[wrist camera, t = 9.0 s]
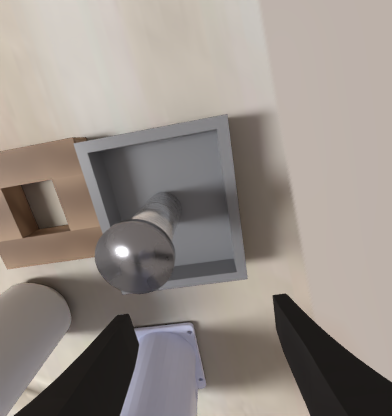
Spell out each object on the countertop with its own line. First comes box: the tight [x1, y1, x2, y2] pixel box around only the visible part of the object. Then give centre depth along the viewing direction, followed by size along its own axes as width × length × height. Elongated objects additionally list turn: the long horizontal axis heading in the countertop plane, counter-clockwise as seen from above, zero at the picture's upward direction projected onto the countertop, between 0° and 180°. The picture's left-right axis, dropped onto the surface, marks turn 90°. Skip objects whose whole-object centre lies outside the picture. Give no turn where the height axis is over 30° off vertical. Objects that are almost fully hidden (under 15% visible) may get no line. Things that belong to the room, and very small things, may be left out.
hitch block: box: [0, 138, 103, 269], centre depth 19 cm, size 10×10×2 cm
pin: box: [95, 192, 181, 294], centre depth 15 cm, size 4×4×9 cm
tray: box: [73, 114, 248, 295], centre depth 19 cm, size 13×11×3 cm
